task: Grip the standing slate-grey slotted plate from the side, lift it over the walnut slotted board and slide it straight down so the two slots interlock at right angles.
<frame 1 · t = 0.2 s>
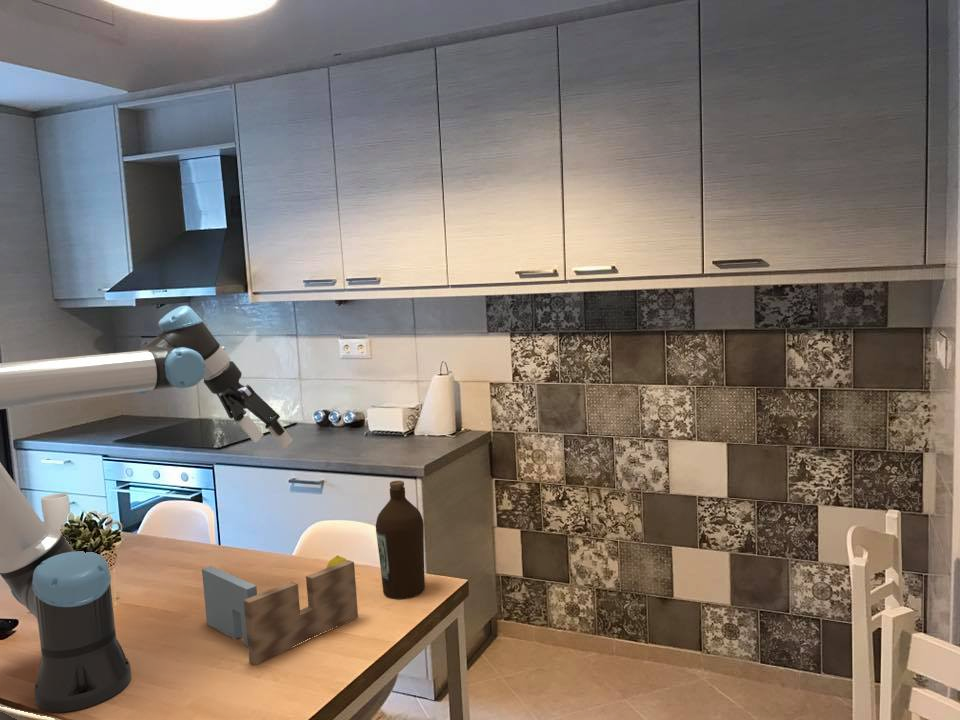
hand: (273, 441, 170), 34 cm above the table, tool tilted 35°, fingers open, 13 cm apart
teacup with lid: (102, 551, 205), on the table
walnut slotted board: (306, 638, 146), on the table
slate slotted plate: (243, 639, 147), on the table
dark brown bottle: (403, 591, 167), on the table
drinking glass: (60, 548, 210), on the table
lemon: (340, 590, 170), on the table
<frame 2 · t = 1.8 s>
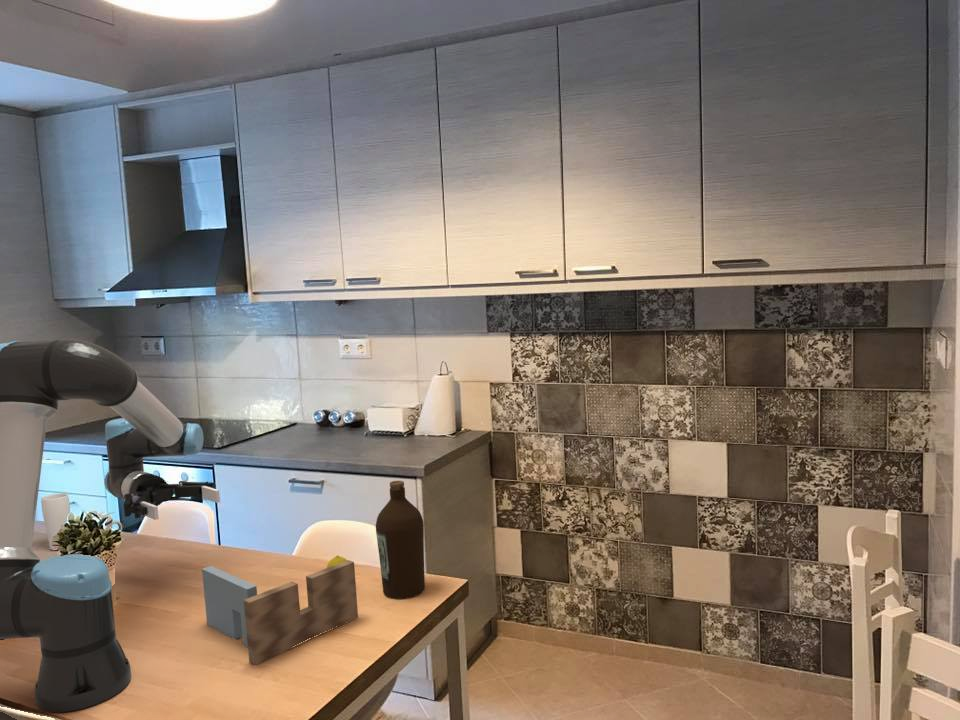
hand: (188, 504, 157), 25 cm above the table, tool horizontal, fingers open, 13 cm apart
nothing on the table moved.
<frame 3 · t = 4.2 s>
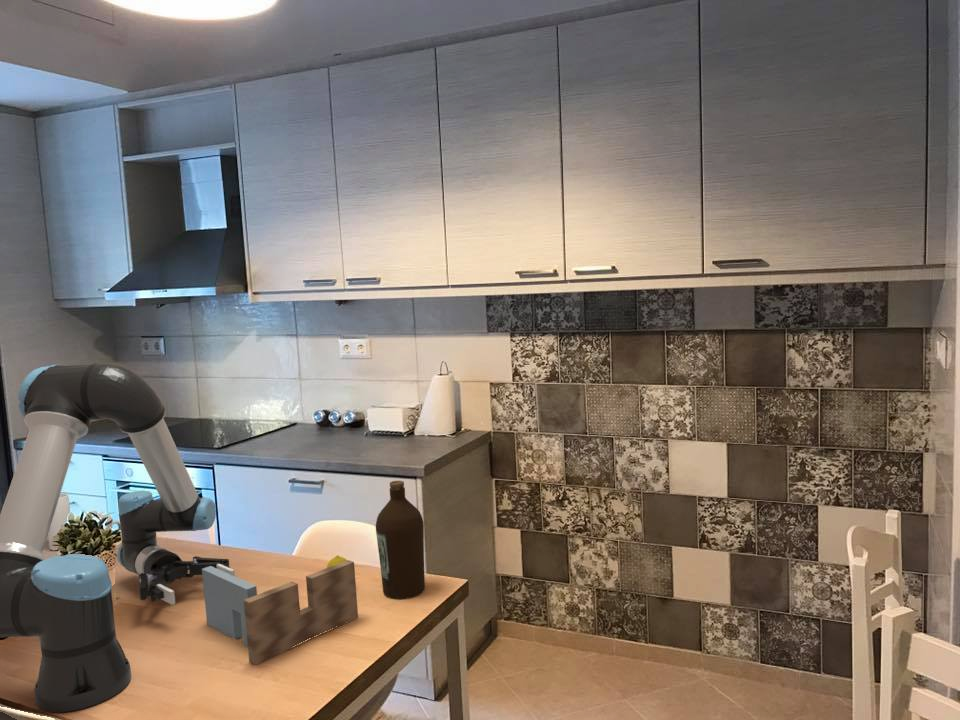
hand: (204, 586, 158), 7 cm above the table, tool horizontal, fingers open, 13 cm apart
nothing on the table moved.
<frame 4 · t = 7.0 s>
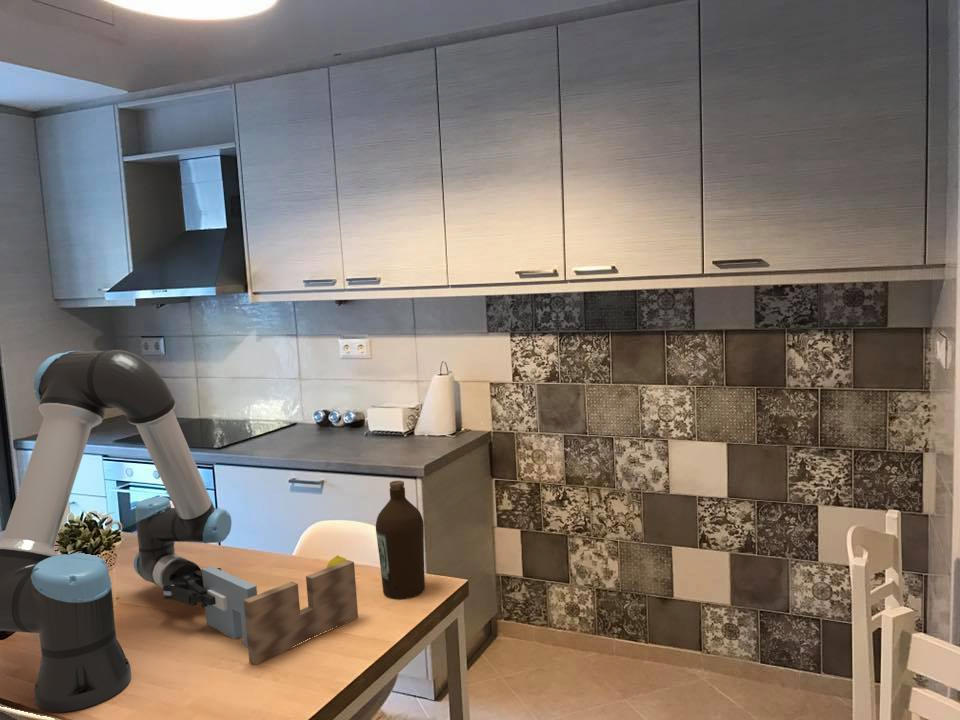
hand: (231, 601, 149), 7 cm above the table, tool horizontal, fingers closed on slate slotted plate, 2 cm apart
slate slotted plate: (243, 639, 147), on the table, touching gripper
everything else where it was.
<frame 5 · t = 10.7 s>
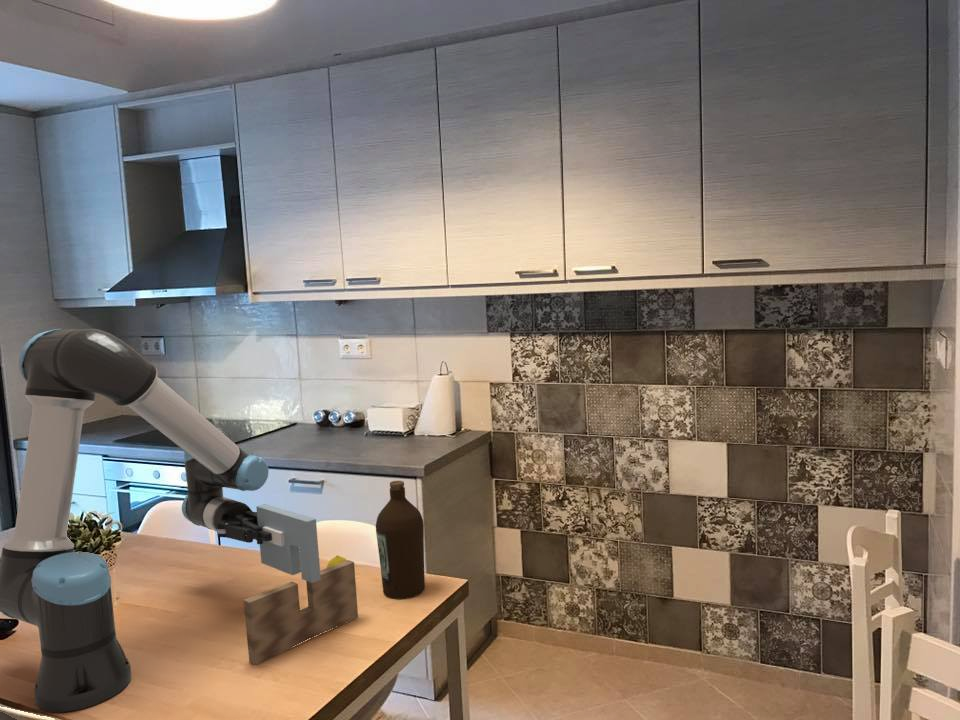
hand: (288, 537, 147), 20 cm above the table, tool horizontal, fingers closed on slate slotted plate, 2 cm apart
slate slotted plate: (301, 575, 145), point 13 cm above the table, touching gripper
everything else where it was.
when the fingers open (8 cm above the table, at t = 14.5 s): slate slotted plate stays where it is, on the table.
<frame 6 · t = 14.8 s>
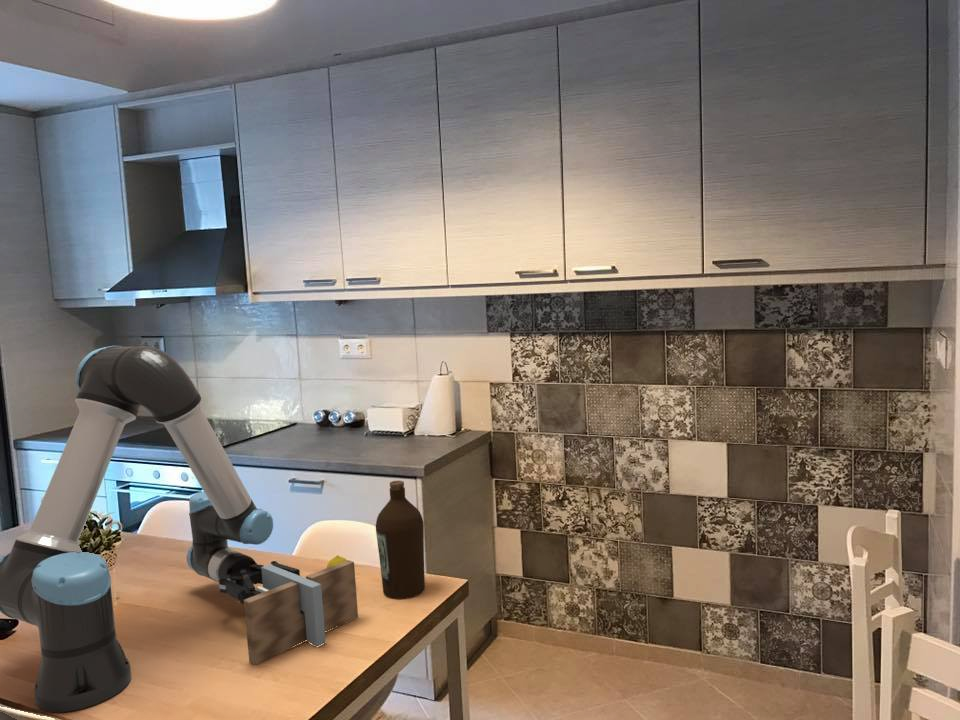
hand: (292, 594, 148), 8 cm above the table, tool horizontal, fingers open, 7 cm apart
slate slotted plate: (306, 638, 146), on the table
everything else where it was.
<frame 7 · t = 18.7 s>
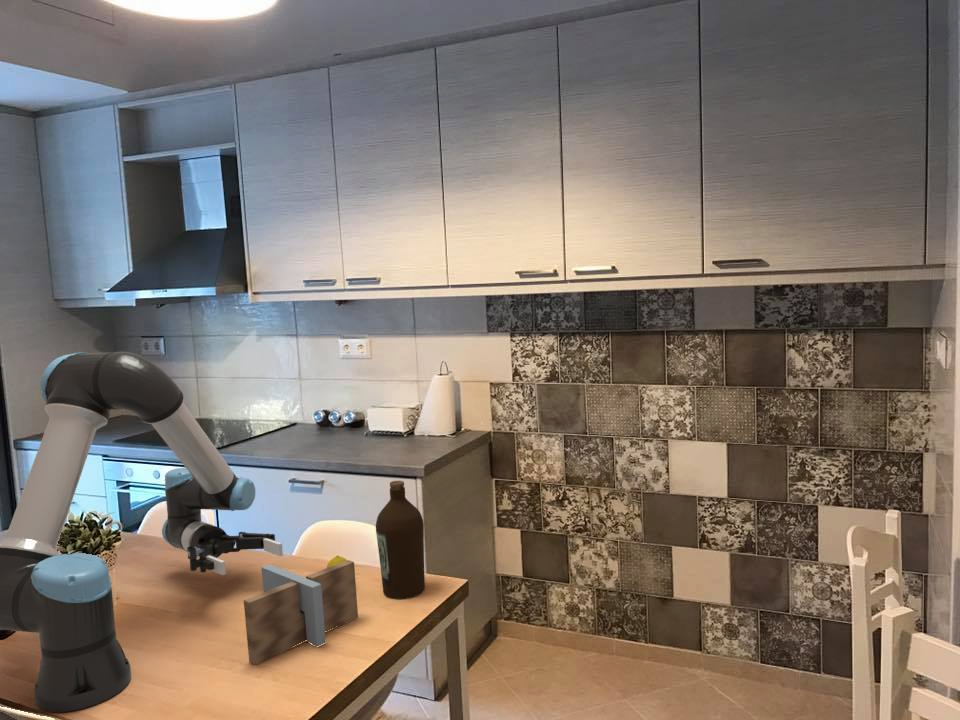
hand: (253, 558, 158), 12 cm above the table, tool horizontal, fingers open, 13 cm apart
nothing on the table moved.
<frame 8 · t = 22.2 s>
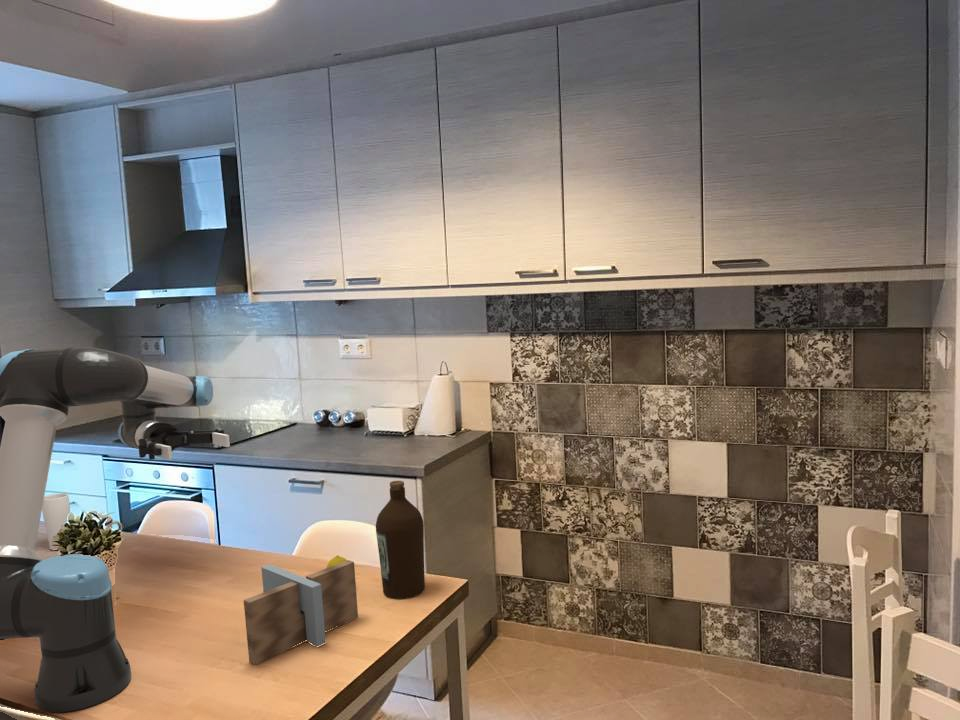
hand: (199, 446, 165), 35 cm above the table, tool horizontal, fingers open, 13 cm apart
nothing on the table moved.
at the end: slate slotted plate 0.0 cm off-centre on the walnut slotted board, point 0.0 cm above the walnut slotted board's base; slate slotted plate tilted 0°; the gripper is holding nothing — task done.
